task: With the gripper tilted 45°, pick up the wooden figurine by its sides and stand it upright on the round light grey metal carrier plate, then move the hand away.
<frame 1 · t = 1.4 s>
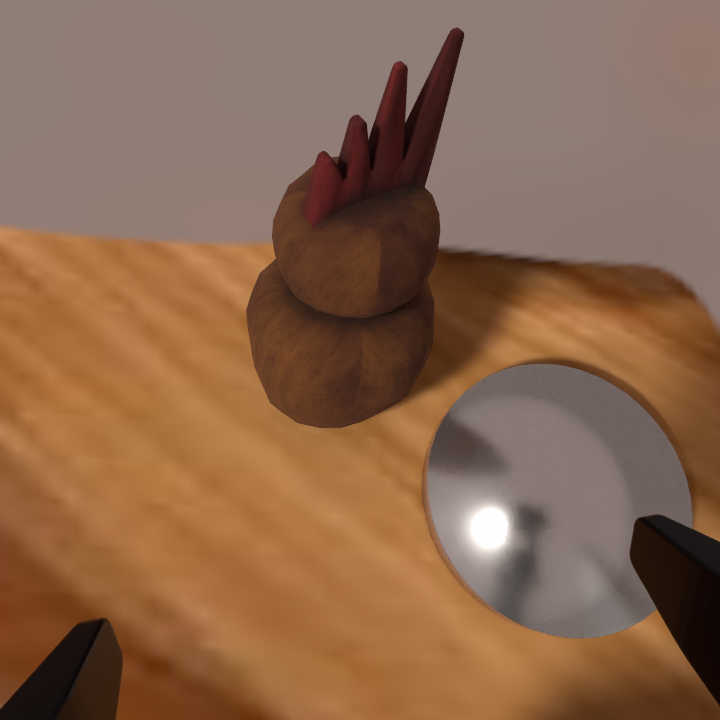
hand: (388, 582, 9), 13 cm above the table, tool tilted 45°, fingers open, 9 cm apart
wooden figurine: (328, 388, 24), on the table
carrier plate: (546, 492, 23), on the table
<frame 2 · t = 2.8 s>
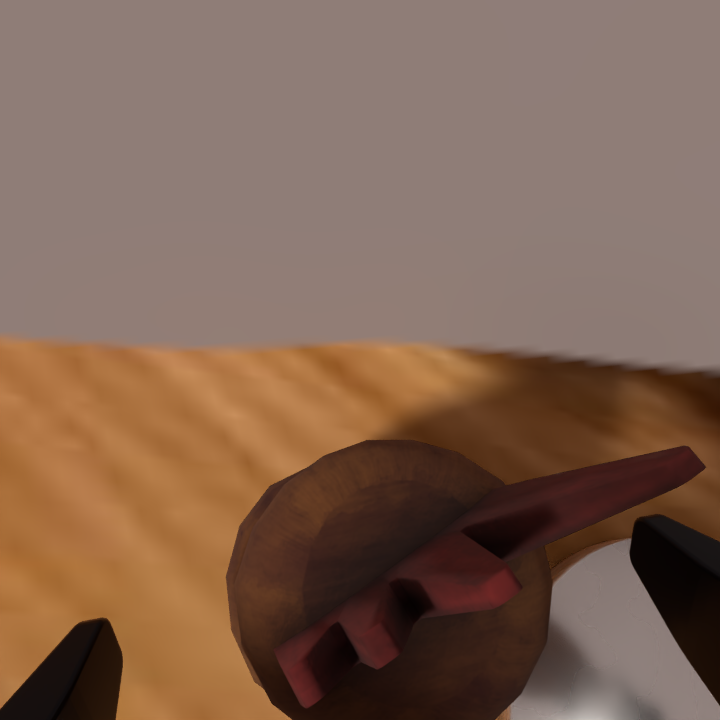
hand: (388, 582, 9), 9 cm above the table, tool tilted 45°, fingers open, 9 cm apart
wooden figurine: (362, 567, 18), on the table
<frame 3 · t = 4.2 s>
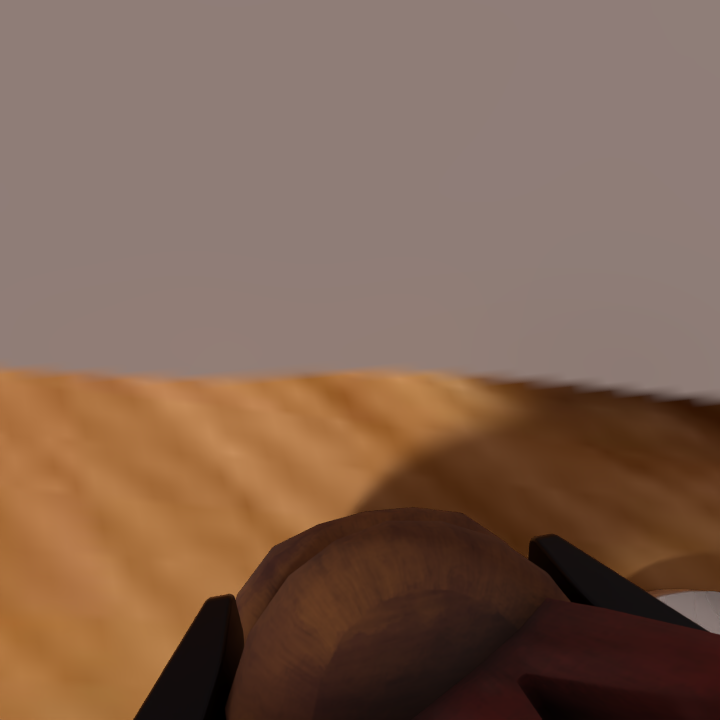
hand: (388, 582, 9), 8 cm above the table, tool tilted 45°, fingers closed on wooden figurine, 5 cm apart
wooden figurine: (372, 624, 16), on the table, touching gripper
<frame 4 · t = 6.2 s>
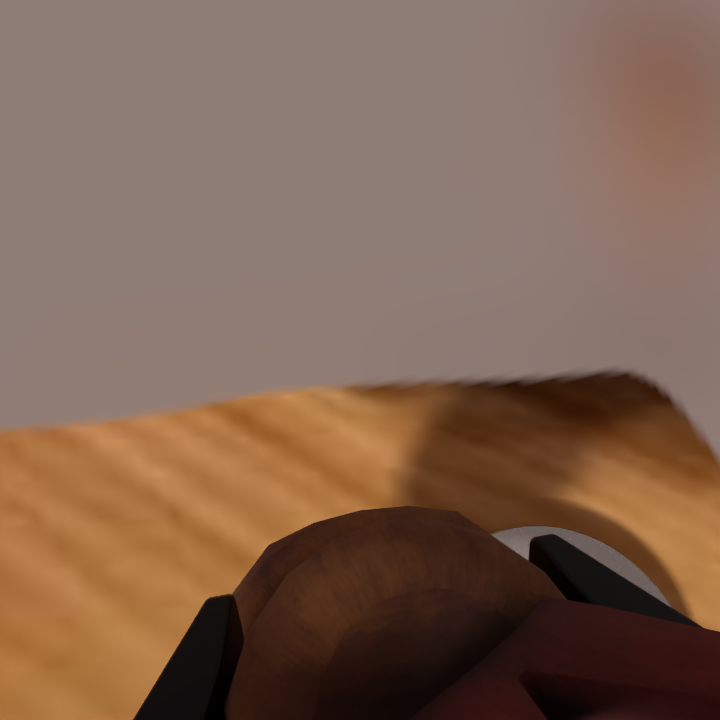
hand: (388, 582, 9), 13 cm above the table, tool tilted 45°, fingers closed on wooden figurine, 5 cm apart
wooden figurine: (366, 622, 16), point 5 cm above the table, touching gripper
carrier plate: (540, 676, 20), on the table
when the fingers open (10 cm above the table, at t = 8.3 s): wooden figurine stays where it is, resting on carrier plate.
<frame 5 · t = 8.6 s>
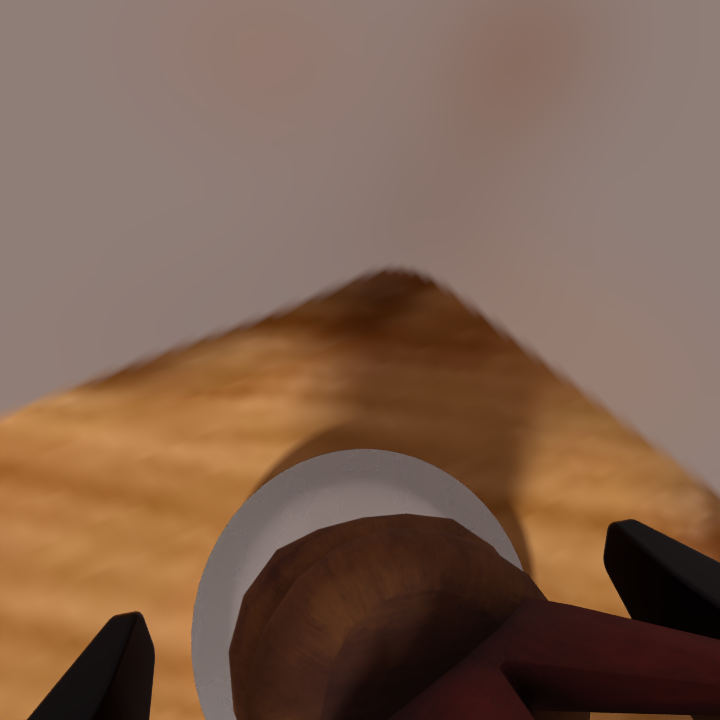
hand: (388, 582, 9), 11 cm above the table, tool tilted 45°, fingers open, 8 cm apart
wooden figurine: (367, 623, 17), point 1 cm above the table, touching carrier plate
carrier plate: (363, 614, 18), on the table
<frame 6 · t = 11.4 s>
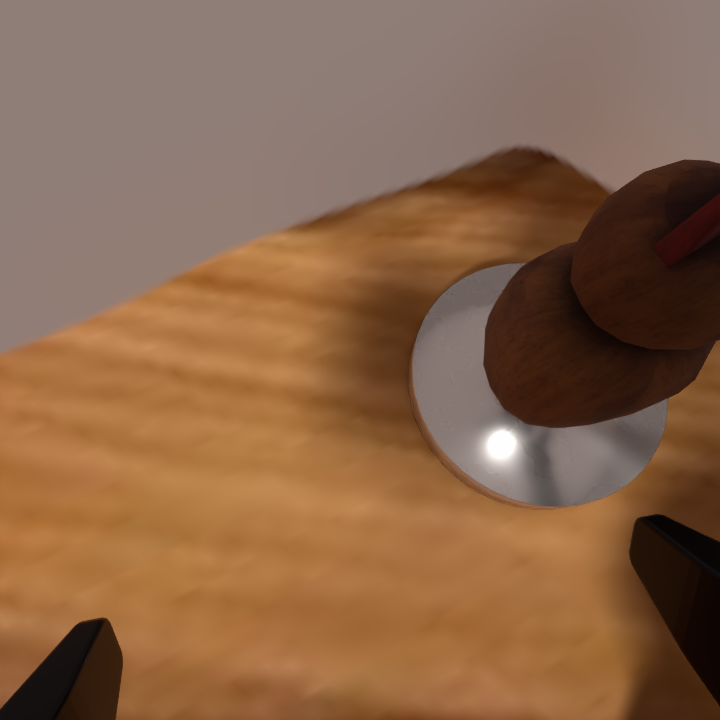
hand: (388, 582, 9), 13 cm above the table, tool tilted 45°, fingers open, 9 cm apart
wooden figurine: (539, 378, 22), point 1 cm above the table, touching carrier plate
carrier plate: (528, 384, 24), on the table
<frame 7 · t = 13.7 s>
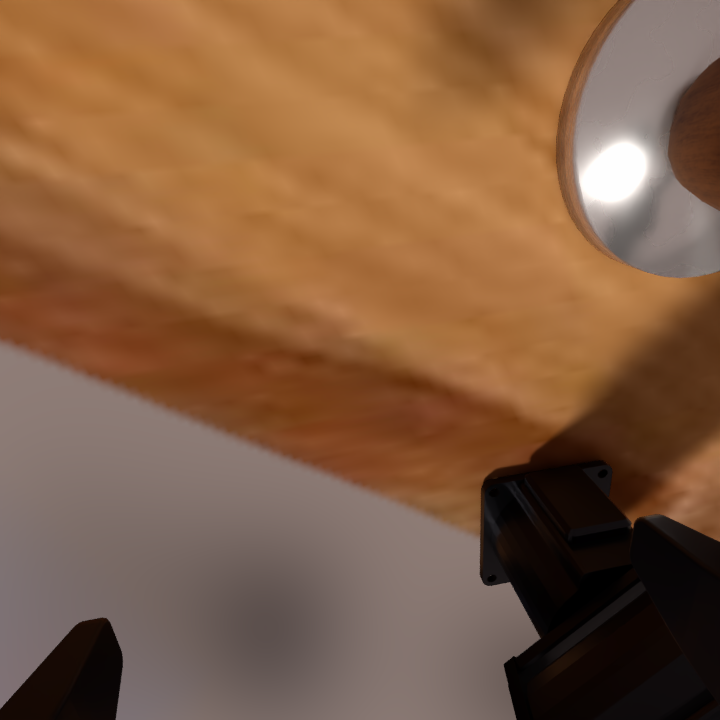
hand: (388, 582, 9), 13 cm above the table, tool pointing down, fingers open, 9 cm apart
wooden figurine: (718, 129, 19), point 1 cm above the table, touching carrier plate
carrier plate: (692, 125, 20), on the table
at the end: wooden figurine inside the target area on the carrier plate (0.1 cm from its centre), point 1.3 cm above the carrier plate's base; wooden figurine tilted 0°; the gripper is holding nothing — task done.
